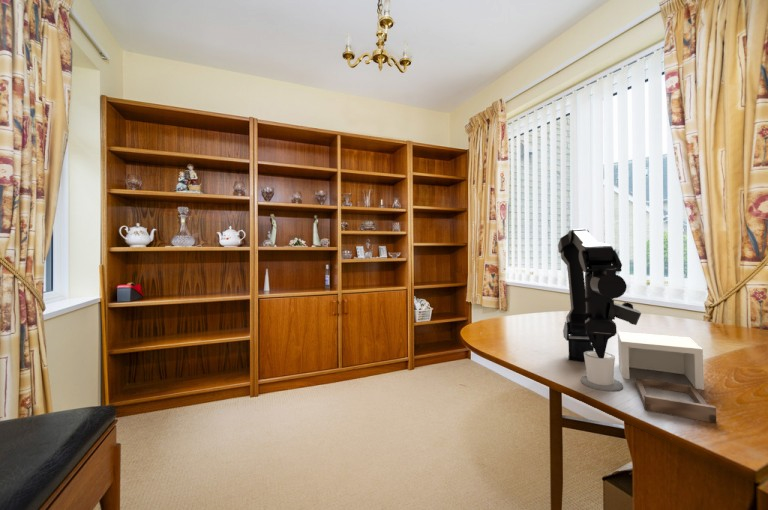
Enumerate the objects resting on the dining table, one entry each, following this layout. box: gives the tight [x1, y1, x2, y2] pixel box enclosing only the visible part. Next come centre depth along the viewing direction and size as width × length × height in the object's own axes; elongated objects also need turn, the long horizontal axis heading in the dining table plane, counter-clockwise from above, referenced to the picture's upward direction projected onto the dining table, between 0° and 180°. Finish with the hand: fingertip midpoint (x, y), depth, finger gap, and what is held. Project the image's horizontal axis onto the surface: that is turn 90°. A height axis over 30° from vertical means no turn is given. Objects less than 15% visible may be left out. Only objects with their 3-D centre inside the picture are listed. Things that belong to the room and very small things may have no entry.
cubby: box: [617, 331, 705, 391], centre depth 87 cm, size 16×12×10 cm
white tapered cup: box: [584, 350, 616, 385], centre depth 84 cm, size 7×7×7 cm
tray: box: [635, 377, 717, 424], centre depth 73 cm, size 11×16×3 cm
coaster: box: [580, 375, 624, 392], centre depth 83 cm, size 9×9×1 cm
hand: (600, 352), depth 83 cm, fingers open, 9 cm apart
